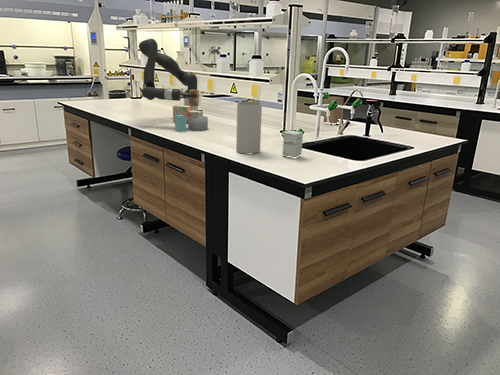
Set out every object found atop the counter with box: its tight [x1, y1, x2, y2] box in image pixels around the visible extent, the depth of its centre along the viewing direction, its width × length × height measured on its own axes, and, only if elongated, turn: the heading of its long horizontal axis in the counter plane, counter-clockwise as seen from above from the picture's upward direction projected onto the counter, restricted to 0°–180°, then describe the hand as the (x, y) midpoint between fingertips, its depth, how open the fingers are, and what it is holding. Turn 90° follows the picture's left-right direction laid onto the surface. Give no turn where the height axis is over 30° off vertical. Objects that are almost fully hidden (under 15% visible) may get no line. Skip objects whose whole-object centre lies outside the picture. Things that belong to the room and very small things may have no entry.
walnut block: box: [189, 89, 200, 107], centre depth 258 cm, size 5×5×10 cm
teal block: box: [174, 115, 187, 133], centre depth 255 cm, size 5×5×10 cm
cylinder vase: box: [235, 101, 263, 154], centre depth 204 cm, size 12×12×25 cm
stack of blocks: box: [172, 104, 204, 125], centre depth 282 cm, size 21×6×12 cm, turn 66°
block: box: [323, 96, 345, 123], centre depth 297 cm, size 10×10×20 cm
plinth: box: [187, 115, 209, 132], centre depth 263 cm, size 13×13×8 cm
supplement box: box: [282, 130, 304, 157], centre depth 199 cm, size 7×7×13 cm
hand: (197, 95), depth 257 cm, fingers closed on walnut block, 5 cm apart
